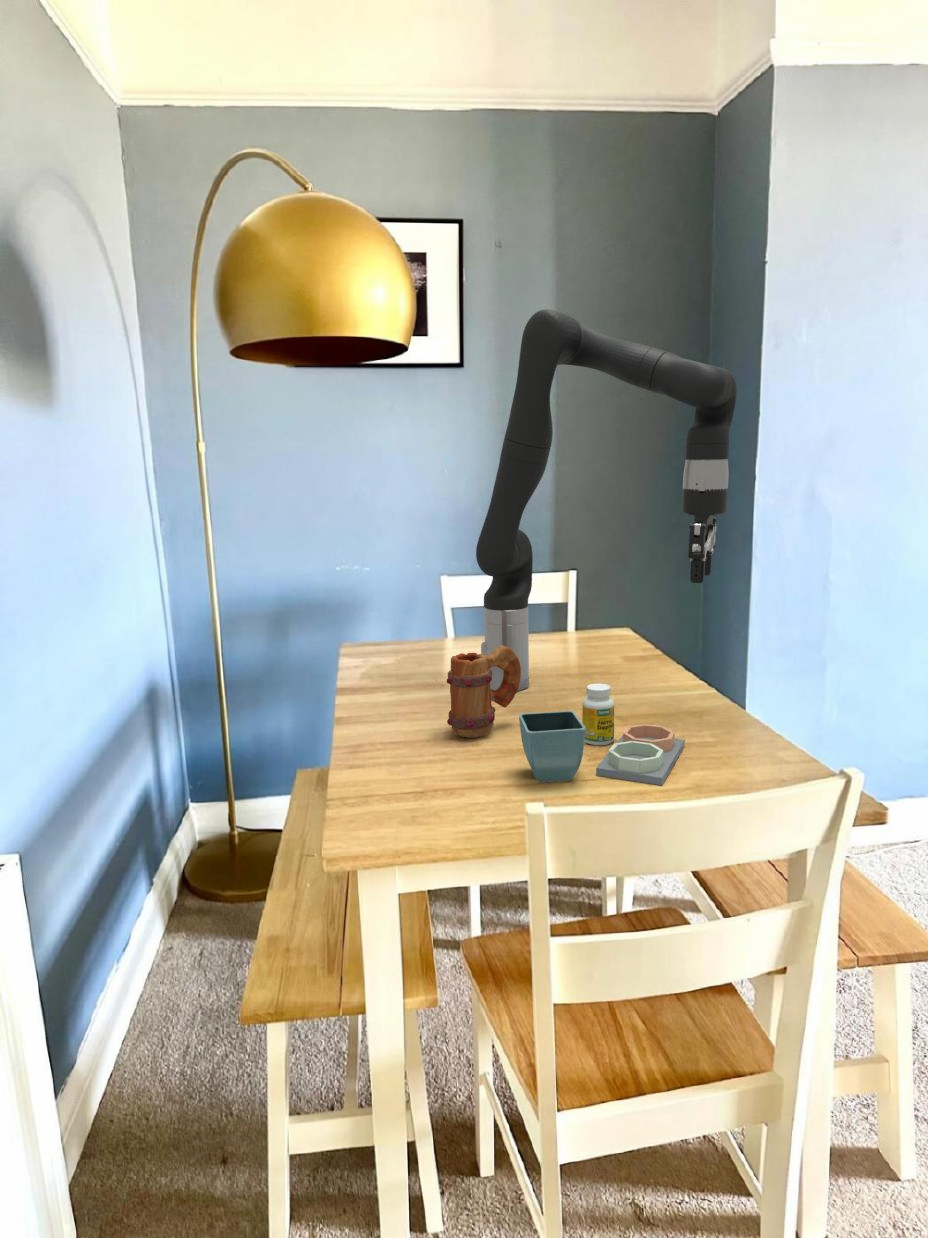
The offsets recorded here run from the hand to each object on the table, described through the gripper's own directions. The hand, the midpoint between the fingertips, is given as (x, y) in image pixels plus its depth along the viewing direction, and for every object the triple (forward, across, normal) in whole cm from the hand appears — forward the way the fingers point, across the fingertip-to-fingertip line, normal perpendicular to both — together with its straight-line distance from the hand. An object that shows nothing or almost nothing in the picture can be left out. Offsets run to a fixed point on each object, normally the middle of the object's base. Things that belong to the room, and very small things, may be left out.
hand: (700, 578), depth 140 cm
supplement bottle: (+26, +18, -13) cm, 34 cm away
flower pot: (+26, +35, -16) cm, 47 cm away
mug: (+26, +21, -33) cm, 47 cm away
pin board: (+26, +24, -4) cm, 36 cm away
